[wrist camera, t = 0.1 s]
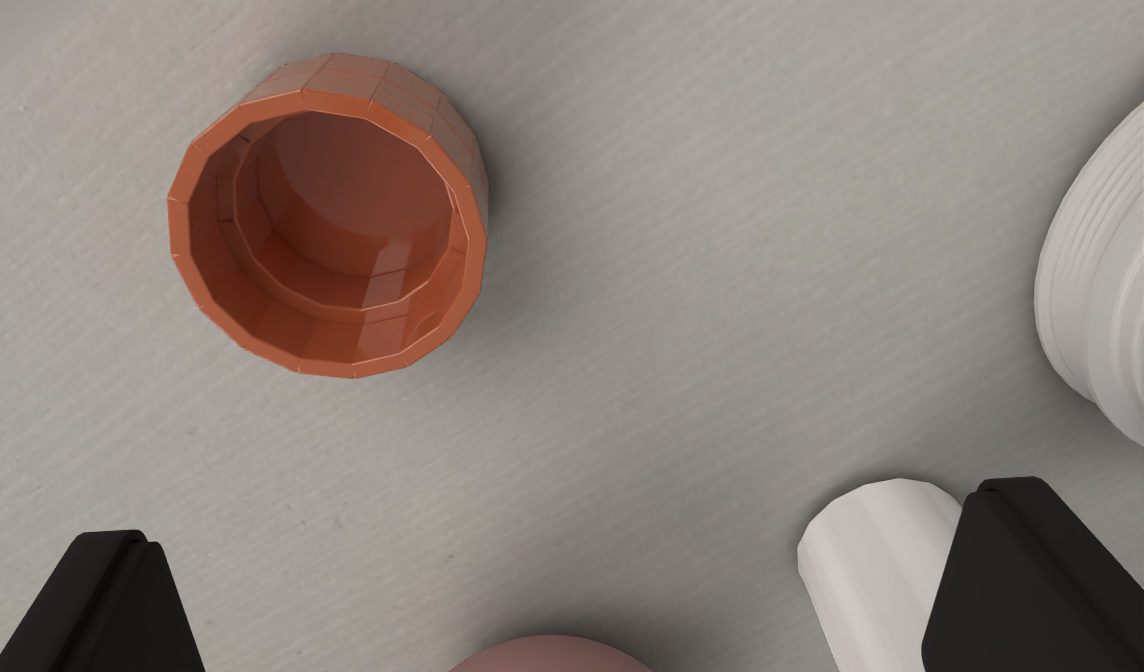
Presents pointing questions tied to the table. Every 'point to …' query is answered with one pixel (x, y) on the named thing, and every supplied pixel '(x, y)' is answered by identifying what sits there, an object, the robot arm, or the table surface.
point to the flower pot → (334, 218)
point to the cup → (878, 571)
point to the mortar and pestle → (550, 656)
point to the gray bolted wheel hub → (1099, 280)
